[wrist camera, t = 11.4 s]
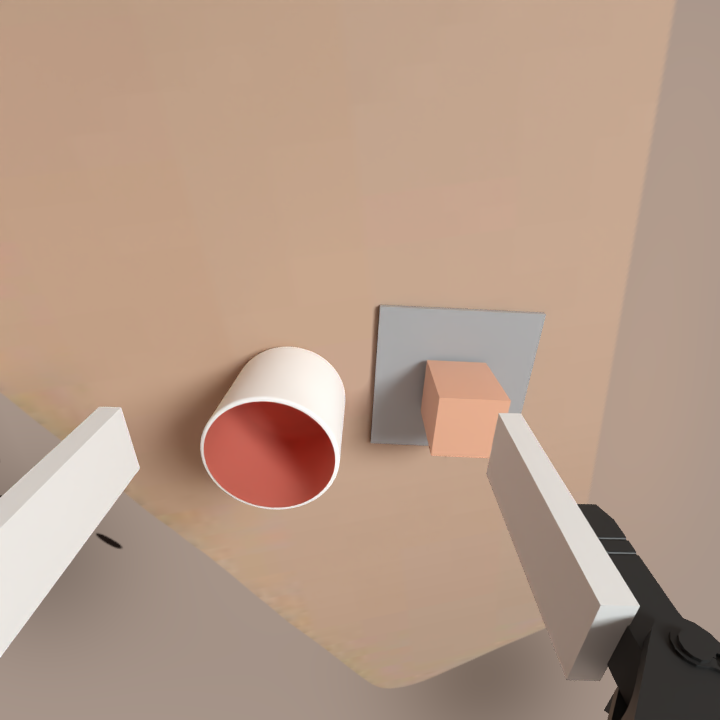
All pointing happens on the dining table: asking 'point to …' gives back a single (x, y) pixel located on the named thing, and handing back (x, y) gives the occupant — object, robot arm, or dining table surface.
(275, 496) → the cup
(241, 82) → the dining table surface
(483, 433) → the peach toy cube
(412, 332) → the grey square plate
